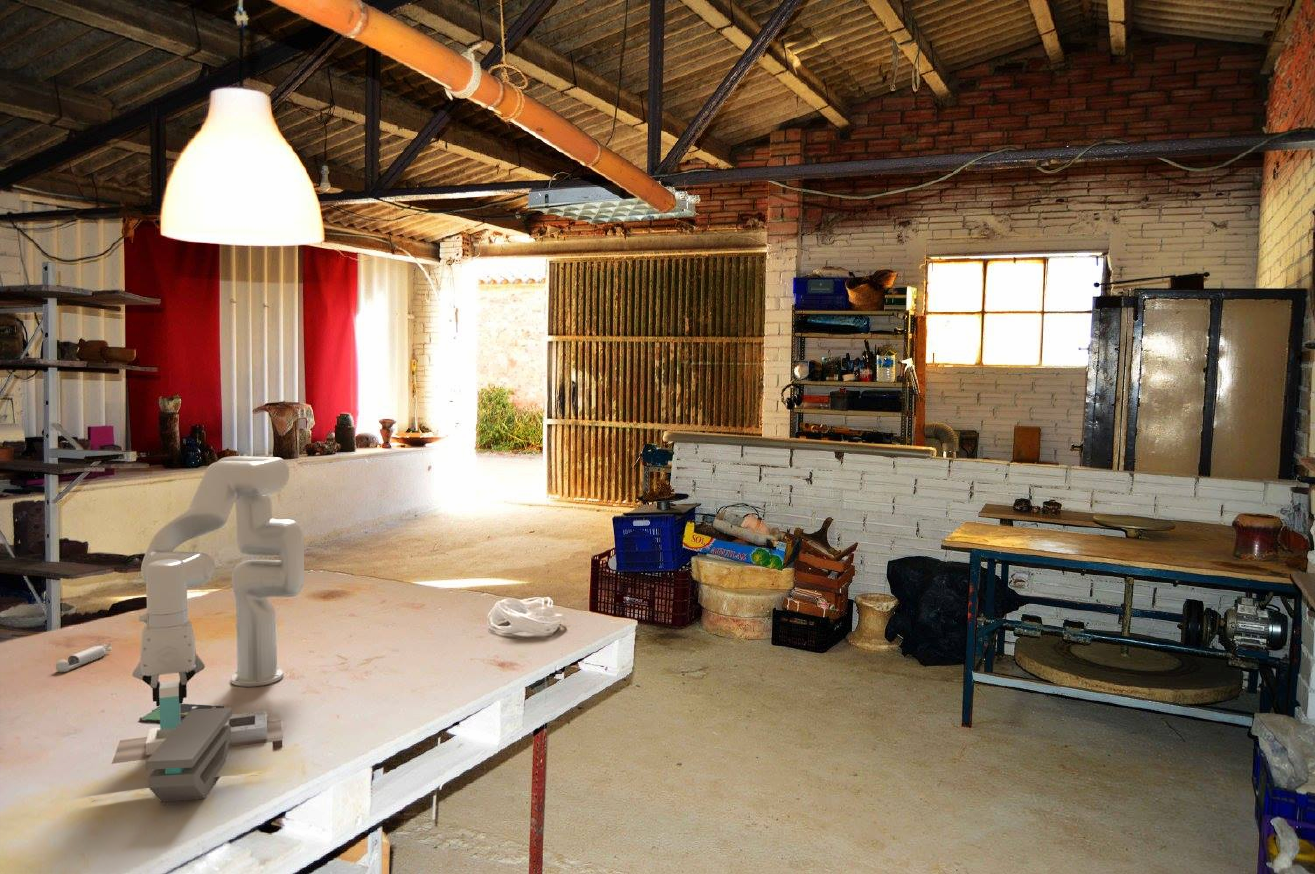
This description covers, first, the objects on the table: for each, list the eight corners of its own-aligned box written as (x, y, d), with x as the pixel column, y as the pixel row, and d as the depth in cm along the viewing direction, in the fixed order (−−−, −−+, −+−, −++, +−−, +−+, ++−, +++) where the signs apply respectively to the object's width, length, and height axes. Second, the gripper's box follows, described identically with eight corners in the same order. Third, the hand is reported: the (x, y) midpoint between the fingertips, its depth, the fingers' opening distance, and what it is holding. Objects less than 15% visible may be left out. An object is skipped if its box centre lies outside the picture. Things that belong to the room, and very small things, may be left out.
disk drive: (225, 717, 214) (165, 712, 215) (225, 705, 213) (165, 701, 214) (199, 734, 203) (136, 730, 204) (199, 722, 203) (136, 718, 204)
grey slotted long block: (193, 816, 166) (192, 759, 165) (147, 819, 165) (145, 761, 164) (232, 757, 191) (232, 707, 190) (193, 759, 189) (192, 709, 188)
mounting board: (120, 747, 194) (119, 740, 194) (281, 726, 207) (281, 719, 207) (111, 770, 183) (111, 763, 183) (282, 746, 196) (282, 739, 196)
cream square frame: (150, 739, 195) (150, 728, 195) (192, 734, 198) (192, 723, 198) (146, 754, 187) (145, 743, 187) (190, 748, 191) (190, 737, 191)
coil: (550, 643, 275) (552, 613, 274) (475, 635, 278) (476, 606, 278) (571, 622, 299) (573, 594, 299) (502, 615, 303) (503, 587, 302)
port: (217, 729, 201) (217, 716, 201) (266, 723, 205) (266, 710, 205) (216, 747, 192) (215, 733, 192) (267, 740, 196) (267, 726, 196)
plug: (162, 723, 194) (160, 682, 193) (180, 721, 195) (179, 680, 194) (160, 730, 191) (159, 688, 190) (179, 727, 192) (178, 686, 191)
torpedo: (66, 675, 238) (66, 650, 237) (50, 673, 238) (50, 649, 238) (117, 653, 256) (117, 631, 255) (102, 652, 256) (102, 630, 256)
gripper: (119, 627, 184) (122, 714, 186) (210, 619, 191) (212, 703, 192) (124, 617, 191) (127, 701, 193) (212, 610, 198) (214, 691, 199)
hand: (170, 701), depth 192 cm, fingers closed on plug, 3 cm apart
